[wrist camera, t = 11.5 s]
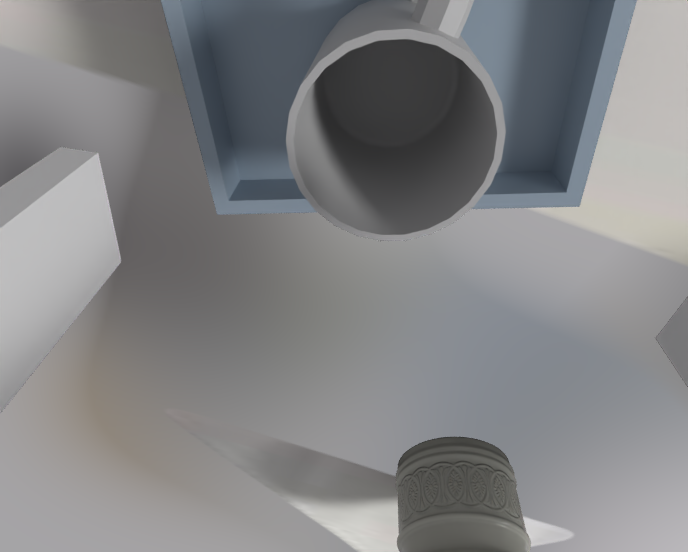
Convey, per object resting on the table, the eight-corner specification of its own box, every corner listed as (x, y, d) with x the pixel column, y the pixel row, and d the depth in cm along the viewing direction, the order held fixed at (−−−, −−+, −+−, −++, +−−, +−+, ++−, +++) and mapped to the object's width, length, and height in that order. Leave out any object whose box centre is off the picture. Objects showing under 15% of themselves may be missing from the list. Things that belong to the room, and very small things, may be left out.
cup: (300, 123, 24) (264, 205, 17) (366, -114, 18) (355, -142, 11) (426, 168, 25) (443, 263, 18) (528, -42, 19) (615, -25, 12)
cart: (546, 159, 28) (579, 206, 23) (243, 168, 29) (217, 214, 25) (618, -177, 19) (695, -212, 14) (180, -135, 21) (120, -153, 16)
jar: (535, 452, 49) (595, 660, 35) (474, 504, 57) (504, 692, 43) (425, 420, 47) (442, 628, 33) (378, 479, 55) (376, 668, 41)
